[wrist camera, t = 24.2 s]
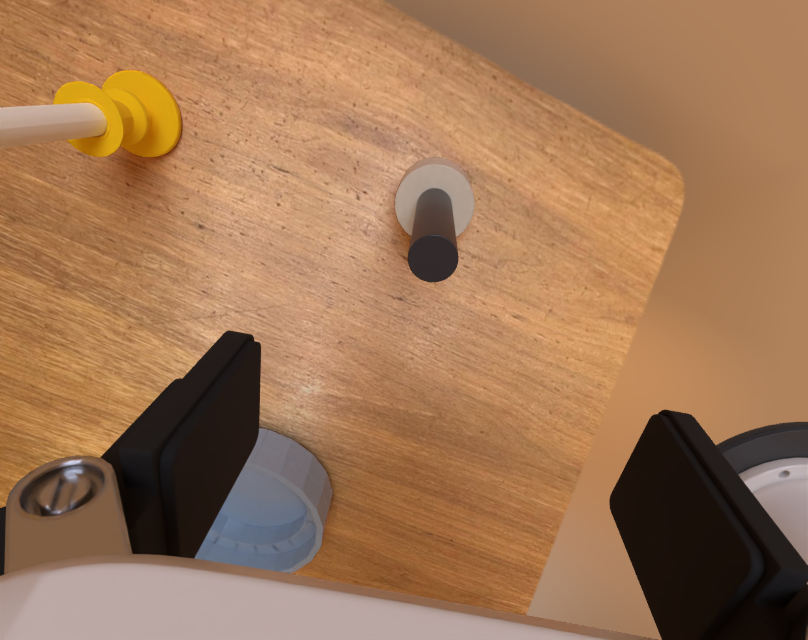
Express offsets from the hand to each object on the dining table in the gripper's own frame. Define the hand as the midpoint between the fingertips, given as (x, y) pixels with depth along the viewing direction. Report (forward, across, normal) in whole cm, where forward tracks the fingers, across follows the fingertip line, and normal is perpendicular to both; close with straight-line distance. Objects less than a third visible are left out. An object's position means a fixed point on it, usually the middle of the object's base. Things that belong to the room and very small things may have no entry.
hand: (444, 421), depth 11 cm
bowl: (+23, +13, +30) cm, 40 cm away
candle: (+23, +21, -2) cm, 31 cm away
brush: (+23, +1, -1) cm, 23 cm away
